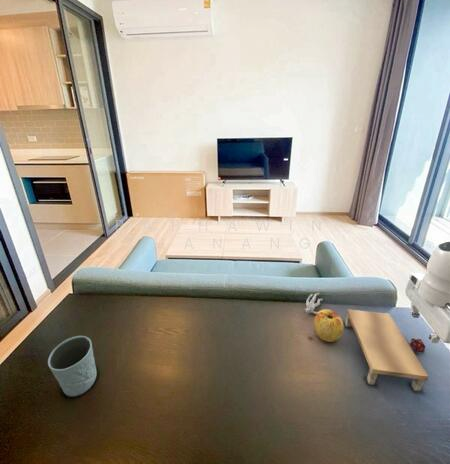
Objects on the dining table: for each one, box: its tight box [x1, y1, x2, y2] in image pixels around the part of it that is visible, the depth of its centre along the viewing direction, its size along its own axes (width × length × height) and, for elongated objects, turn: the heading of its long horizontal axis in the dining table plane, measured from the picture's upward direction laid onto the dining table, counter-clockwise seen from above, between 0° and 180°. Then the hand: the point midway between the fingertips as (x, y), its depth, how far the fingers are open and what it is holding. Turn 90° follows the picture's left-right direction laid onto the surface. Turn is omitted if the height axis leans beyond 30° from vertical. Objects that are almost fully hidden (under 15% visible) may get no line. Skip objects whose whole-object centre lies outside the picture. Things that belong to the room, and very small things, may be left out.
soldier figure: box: [303, 292, 324, 315], centre depth 96 cm, size 8×5×12 cm
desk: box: [344, 308, 429, 392], centre depth 78 cm, size 14×22×6 cm, turn 172°
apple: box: [313, 308, 344, 343], centre depth 83 cm, size 9×9×10 cm
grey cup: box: [47, 335, 98, 397], centre depth 68 cm, size 10×10×12 cm
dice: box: [409, 338, 426, 353], centre depth 79 cm, size 4×4×4 cm
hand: (423, 327), depth 77 cm, fingers open, 8 cm apart
